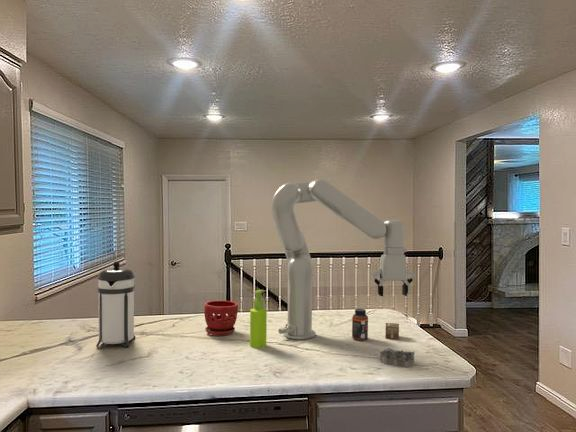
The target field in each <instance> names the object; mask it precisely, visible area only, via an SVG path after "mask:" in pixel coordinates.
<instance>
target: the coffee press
mask: <svg viewBox="0 0 576 432" xmlns="http://www.w3.org/2000/svg"><path fill="white" fill-rule="evenodd" d="M96 278H97V281H98V287H97V293H98V342H97V343H96V345H95V346H96V348H97V349H100V350H101V349H102V348H103V347H104V345H106V344H108V345H115V344H116V345H117V344H122V345H123V347H124V348H125V349H126V348H130V345H131V344H130V342H129V341H131V340H132V341H135V339H136V335H135V285H136V284H135V278H136V275H135V274H134V271H133V270H131V268H127V267H126V268H125V267H120V262H119V261H114V262H113V264H112V267H110V268H106V269H103V270H101V271H100V272H99V273H98V276H97V277H96Z"/></svg>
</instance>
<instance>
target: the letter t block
mask: <svg viewBox="0 0 576 432" xmlns="http://www.w3.org/2000/svg"><path fill="white" fill-rule="evenodd" d="M399 335H400V323H394V322H385V335H384V337H385V339H387V340H400V336H399Z"/></svg>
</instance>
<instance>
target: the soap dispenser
mask: <svg viewBox="0 0 576 432" xmlns="http://www.w3.org/2000/svg"><path fill="white" fill-rule="evenodd" d="M264 292H266V290H264V289H257V290H255V291H254V294H255V295H256V296H255V299H254V300H253V308H250V311H249V312H250V314H249V315H250V316H249V319H250V320H249V324H250V325H249V326H250V328H249V329H250V330H249V331H250V332H249V346H250V348H254V349H264V348H265V347H267V322H268V321H267V318H268V317H267V315H268V314H267V312H268V311H267V308H264V299H262V293H264Z"/></svg>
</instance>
